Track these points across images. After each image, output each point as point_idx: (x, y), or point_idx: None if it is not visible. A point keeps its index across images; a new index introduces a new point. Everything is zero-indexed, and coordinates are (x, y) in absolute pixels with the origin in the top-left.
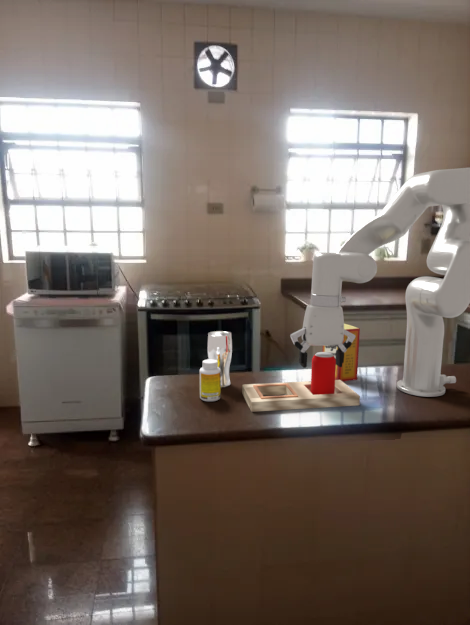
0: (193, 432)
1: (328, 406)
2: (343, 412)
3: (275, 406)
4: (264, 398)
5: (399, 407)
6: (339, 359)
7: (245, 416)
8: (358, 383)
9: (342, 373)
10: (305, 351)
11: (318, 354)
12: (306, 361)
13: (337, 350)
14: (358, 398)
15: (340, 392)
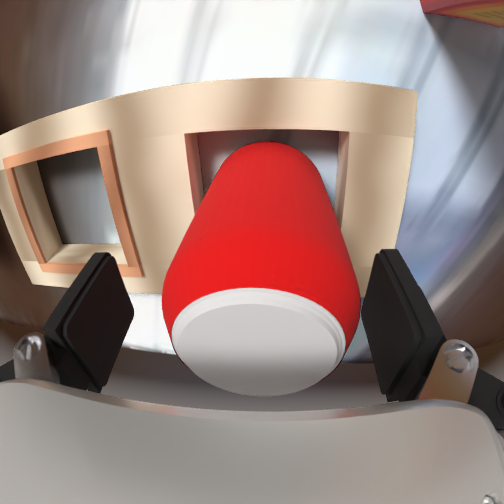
0: (7, 318)
1: None
2: None
3: None
4: (51, 270)
5: (459, 296)
6: (372, 349)
7: (43, 286)
8: (490, 65)
9: (462, 11)
10: (85, 383)
11: (200, 358)
12: (120, 341)
13: (418, 347)
14: None
15: None
